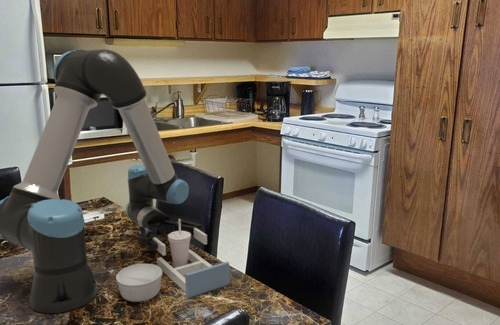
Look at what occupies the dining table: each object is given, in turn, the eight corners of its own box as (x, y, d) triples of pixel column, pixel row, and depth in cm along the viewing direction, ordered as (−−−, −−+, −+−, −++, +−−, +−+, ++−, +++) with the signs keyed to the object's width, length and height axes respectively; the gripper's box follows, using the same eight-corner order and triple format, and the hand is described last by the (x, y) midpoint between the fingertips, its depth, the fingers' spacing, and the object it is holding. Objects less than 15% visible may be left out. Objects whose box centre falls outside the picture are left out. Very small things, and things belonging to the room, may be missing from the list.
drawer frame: (187, 298, 105) (187, 275, 104) (154, 267, 121) (153, 247, 120) (229, 284, 112) (229, 262, 111) (192, 256, 128) (192, 237, 127)
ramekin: (116, 308, 101) (115, 287, 100) (117, 285, 112) (115, 266, 110) (165, 301, 104) (164, 281, 103) (161, 279, 115) (160, 261, 114)
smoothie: (194, 262, 124) (193, 216, 121) (189, 273, 118) (187, 224, 115) (172, 261, 125) (170, 215, 122) (166, 271, 119) (164, 223, 116)
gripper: (188, 225, 142) (223, 247, 124) (116, 241, 128) (144, 269, 111) (188, 203, 140) (223, 222, 123) (114, 217, 126) (142, 242, 109)
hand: (185, 245), depth 117 cm, fingers open, 12 cm apart
